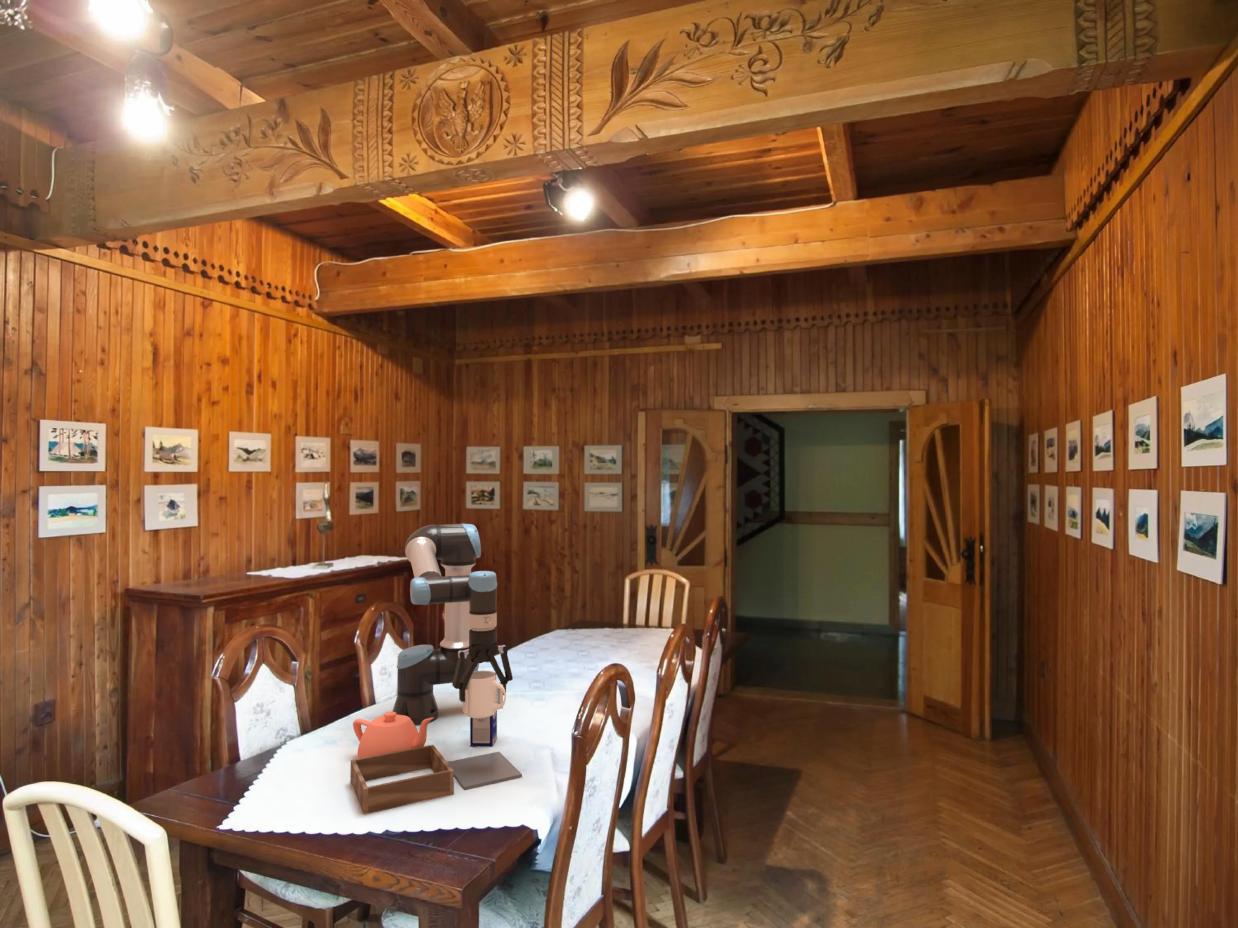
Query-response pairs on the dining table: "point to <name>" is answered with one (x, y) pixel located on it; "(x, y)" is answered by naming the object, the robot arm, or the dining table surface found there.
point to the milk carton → (483, 730)
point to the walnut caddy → (401, 789)
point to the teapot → (389, 734)
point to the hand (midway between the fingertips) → (482, 709)
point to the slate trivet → (483, 770)
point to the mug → (483, 694)
